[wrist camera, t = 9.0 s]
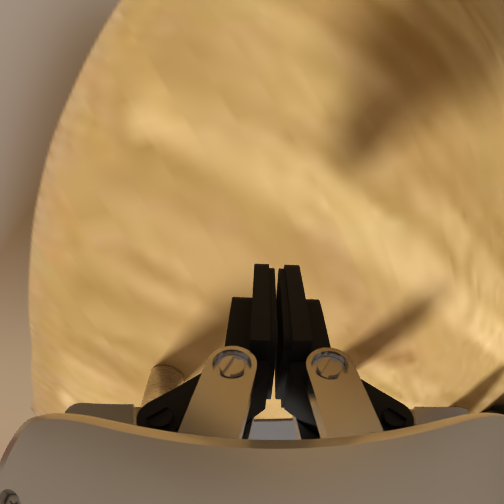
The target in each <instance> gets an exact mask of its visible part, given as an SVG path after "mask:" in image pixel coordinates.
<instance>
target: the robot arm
mask: <svg viewBox="0 0 504 504" xmlns="http://www.w3.org/2000/svg"><path fill="white" fill-rule="evenodd" d="M274 370H275V398H276V399H281V408H284V409H285V410H286V411H288V412H289V413H290V414H292V415H293V425H294V429H295V433H296V437H297V440H251V439H250V435H251V431H252V427H253V422H254V417H255V416H256V415H258V414H259V413H260V412H262V411H263V410H264V409H265V405H266V399H271V394H272V386H273V378H274ZM0 504H504V415H503V414H497V413H472V414H471V413H470V412H469V411H468V410H466V409H465V408H461V407H414V408H413V410H412V409H409V408H408V407H406V406H405V405H404V404H402V403H400V402H399V401H397V400H395V399H393V398H392V397H390V396H388V395H387V394H385V393H383V392H382V391H380V390H378V389H377V388H375V387H373V386H372V385H370V384H368V383H367V382H365V381H363V380H362V379H360V377H359V374H358V372H357V370H356V368H355V366H354V364H353V361H352V360H351V358H350V357H349V356H348V355H347V354H346V353H344V352H343V351H341V350H338V349H335V348H331V347H330V343H329V338H328V334H327V329H326V325H325V321H324V316H323V312H322V308H321V304H320V301H319V300H313V299H306V298H305V293H304V287H303V282H302V277H301V272H300V267H299V265H284V269H279V271H278V283H277V295H276V288H275V269H274V268H269V264H255V265H254V281H253V298H244V297H233V298H232V302H231V309H230V316H229V322H228V329H227V335H226V342H225V347H221V348H219V349H217V350H215V351H214V352H213V353H211V355H210V356H209V358H208V359H207V362H206V364H205V367H204V369H203V371H202V373H201V374H199V375H197V376H196V377H194V378H192V379H190V380H188V381H187V382H185V383H183V384H181V385H180V386H178V387H176V388H174V389H172V390H170V391H169V392H167V393H165V394H163V395H161V396H159V397H157V398H156V399H154V400H152V401H150V402H148V403H147V404H145V405H144V406H142V407H135V406H134V404H93V403H77V404H74V405H72V406H70V407H69V408H68V409H67V410H66V411H65V413H54V414H45V415H39V416H36V417H33V418H30V419H28V420H27V421H26V422H24V423H23V424H22V425H21V426H20V428H19V429H18V430H17V431H16V433H15V434H14V436H13V438H12V440H11V441H10V442H9V444H8V446H7V448H6V450H5V452H4V454H3V456H2V458H1V461H0Z"/></svg>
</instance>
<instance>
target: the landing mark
mask: <svg viewBox="0 0 504 504" xmlns="http://www.w3.org/2000/svg"><path fill="white" fill-rule="evenodd" d="M250 439H251V440H297V437H296V433H295V429H294V425H293V419H287V420H254V422H253V427H252V431H251V435H250Z"/></svg>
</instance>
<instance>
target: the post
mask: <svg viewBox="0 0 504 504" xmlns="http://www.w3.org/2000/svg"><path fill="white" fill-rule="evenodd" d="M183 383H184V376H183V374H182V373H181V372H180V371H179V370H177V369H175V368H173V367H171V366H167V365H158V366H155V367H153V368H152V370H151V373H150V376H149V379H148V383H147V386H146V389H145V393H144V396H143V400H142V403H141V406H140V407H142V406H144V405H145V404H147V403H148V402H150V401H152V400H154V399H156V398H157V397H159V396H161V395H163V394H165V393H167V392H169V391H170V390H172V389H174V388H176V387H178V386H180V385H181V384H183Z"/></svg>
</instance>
